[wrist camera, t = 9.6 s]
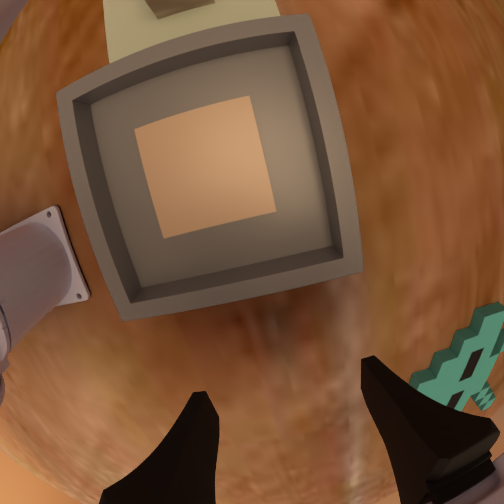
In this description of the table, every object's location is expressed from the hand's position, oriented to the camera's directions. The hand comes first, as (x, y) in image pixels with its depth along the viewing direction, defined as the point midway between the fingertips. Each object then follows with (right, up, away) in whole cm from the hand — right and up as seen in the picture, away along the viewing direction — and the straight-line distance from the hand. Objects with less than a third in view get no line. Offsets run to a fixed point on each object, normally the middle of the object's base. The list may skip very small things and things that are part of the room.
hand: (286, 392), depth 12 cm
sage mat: (-7, +25, +1) cm, 26 cm away
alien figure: (+25, -9, +14) cm, 30 cm away
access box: (-4, +12, +6) cm, 14 cm away
